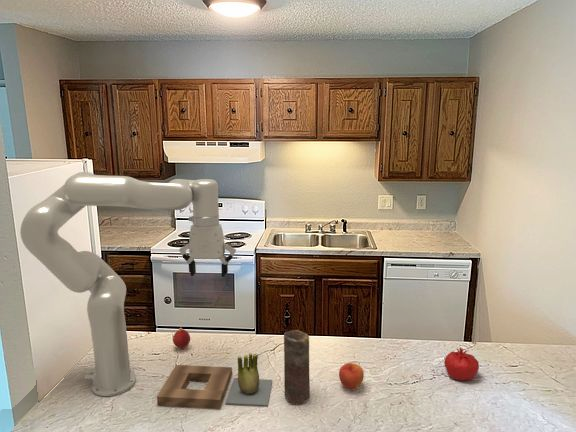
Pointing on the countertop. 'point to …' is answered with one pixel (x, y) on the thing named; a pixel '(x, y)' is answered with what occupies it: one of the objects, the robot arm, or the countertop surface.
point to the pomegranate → (461, 365)
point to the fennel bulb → (248, 374)
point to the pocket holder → (191, 398)
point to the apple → (351, 375)
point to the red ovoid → (181, 338)
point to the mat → (254, 399)
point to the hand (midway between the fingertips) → (208, 275)
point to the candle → (296, 367)
